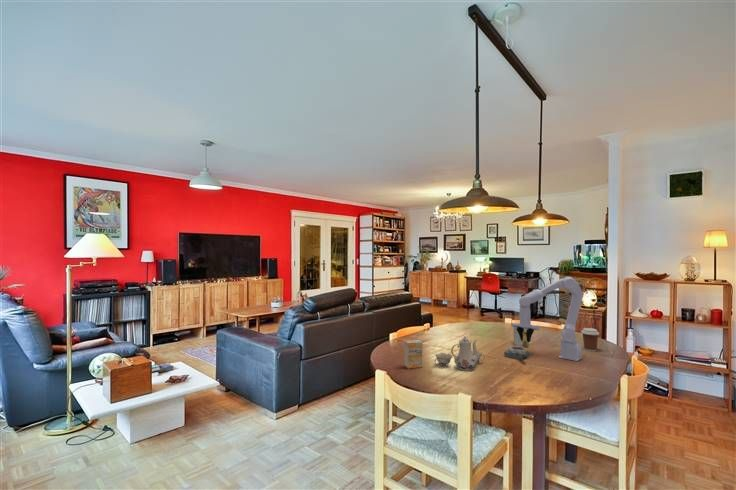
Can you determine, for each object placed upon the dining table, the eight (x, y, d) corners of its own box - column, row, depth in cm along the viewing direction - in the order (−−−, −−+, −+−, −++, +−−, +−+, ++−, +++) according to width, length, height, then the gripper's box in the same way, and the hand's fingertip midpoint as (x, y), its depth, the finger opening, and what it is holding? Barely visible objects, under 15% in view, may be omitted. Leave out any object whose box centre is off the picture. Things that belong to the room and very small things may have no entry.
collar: (532, 359, 186) (532, 355, 186) (517, 359, 187) (517, 354, 187) (521, 350, 203) (521, 346, 203) (508, 349, 204) (508, 345, 204)
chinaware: (475, 361, 196) (473, 330, 198) (496, 367, 181) (493, 334, 183) (430, 368, 187) (428, 335, 188) (448, 375, 171) (446, 339, 173)
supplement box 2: (525, 342, 228) (525, 322, 228) (529, 345, 221) (529, 325, 221) (513, 342, 229) (513, 322, 229) (517, 345, 222) (516, 325, 222)
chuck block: (529, 356, 200) (529, 352, 200) (522, 360, 193) (522, 355, 193) (512, 352, 207) (512, 348, 207) (504, 356, 200) (504, 352, 200)
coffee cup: (596, 348, 215) (596, 328, 215) (602, 352, 206) (601, 331, 206) (579, 347, 217) (579, 327, 217) (584, 351, 209) (583, 330, 209)
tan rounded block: (530, 346, 206) (530, 331, 206) (526, 348, 202) (526, 332, 202) (524, 345, 208) (524, 330, 208) (520, 347, 205) (520, 331, 205)
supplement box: (407, 369, 180) (407, 342, 181) (404, 366, 185) (404, 340, 185) (422, 367, 183) (422, 341, 183) (419, 364, 187) (418, 339, 187)
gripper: (540, 317, 203) (541, 342, 203) (515, 314, 214) (516, 337, 213) (536, 319, 198) (536, 344, 198) (510, 316, 209) (510, 340, 208)
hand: (525, 341), depth 205 cm, fingers closed on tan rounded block, 3 cm apart
